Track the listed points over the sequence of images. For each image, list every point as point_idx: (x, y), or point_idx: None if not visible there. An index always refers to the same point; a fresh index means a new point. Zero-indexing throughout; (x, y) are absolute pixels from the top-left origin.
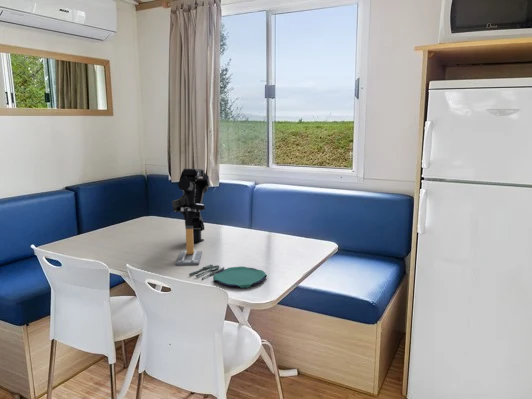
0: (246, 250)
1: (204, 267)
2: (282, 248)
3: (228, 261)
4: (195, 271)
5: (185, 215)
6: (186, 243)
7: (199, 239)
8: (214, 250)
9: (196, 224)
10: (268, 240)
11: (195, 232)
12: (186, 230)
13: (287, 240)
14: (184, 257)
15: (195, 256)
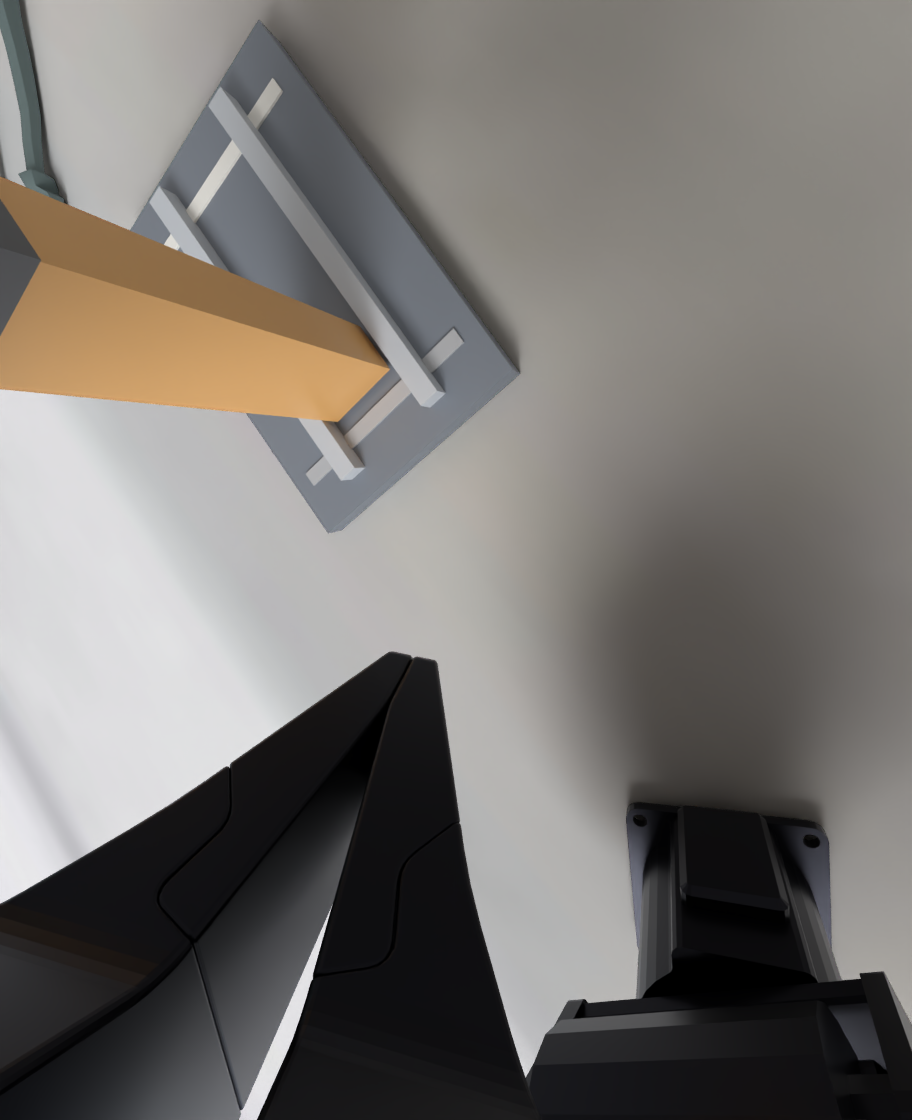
0: (140, 767)
1: (20, 176)
2: (34, 882)
3: (67, 476)
4: (15, 54)
5: (318, 989)
6: (262, 287)
7: (642, 893)
8: (311, 663)
9: (571, 1061)
10: None
11: (668, 950)
12: (17, 199)
13: None
14: (269, 191)
15: None
